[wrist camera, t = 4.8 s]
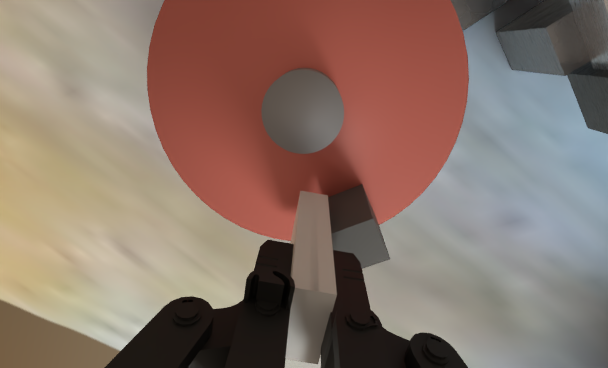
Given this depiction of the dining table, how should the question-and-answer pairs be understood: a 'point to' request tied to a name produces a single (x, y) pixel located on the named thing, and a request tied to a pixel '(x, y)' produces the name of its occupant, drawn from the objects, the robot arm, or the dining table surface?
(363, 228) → the pot lid
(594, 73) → the hook rod
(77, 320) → the dining table surface
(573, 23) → the grey block assembly
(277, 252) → the robot arm
